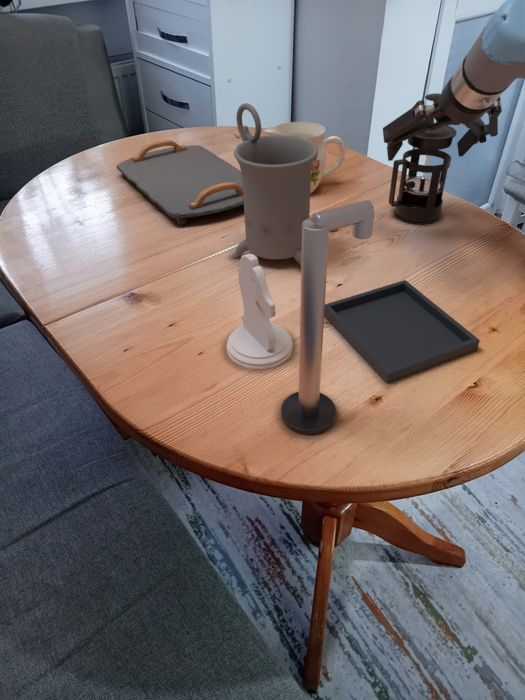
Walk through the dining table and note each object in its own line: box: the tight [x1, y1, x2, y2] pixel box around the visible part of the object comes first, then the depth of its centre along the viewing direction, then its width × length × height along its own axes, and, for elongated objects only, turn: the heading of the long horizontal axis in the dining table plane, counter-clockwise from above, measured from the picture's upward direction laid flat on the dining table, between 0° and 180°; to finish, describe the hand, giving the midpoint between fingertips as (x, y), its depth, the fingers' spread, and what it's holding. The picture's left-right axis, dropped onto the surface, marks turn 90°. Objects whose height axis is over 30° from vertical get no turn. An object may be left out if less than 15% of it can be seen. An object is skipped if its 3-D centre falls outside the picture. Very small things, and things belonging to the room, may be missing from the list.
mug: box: [231, 102, 318, 267], centre depth 92 cm, size 19×15×25 cm
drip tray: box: [324, 279, 481, 385], centre depth 81 cm, size 16×18×2 cm
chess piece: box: [226, 253, 294, 371], centre depth 75 cm, size 10×10×15 cm
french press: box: [388, 92, 458, 226], centre depth 103 cm, size 12×9×23 cm
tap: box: [280, 199, 375, 436], centre depth 60 cm, size 10×7×28 cm
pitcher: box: [262, 121, 346, 194], centre depth 117 cm, size 11×18×14 cm, turn 102°
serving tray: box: [115, 139, 244, 227], centre depth 121 cm, size 39×23×6 cm, turn 32°
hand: (424, 151), depth 102 cm, fingers open, 13 cm apart
